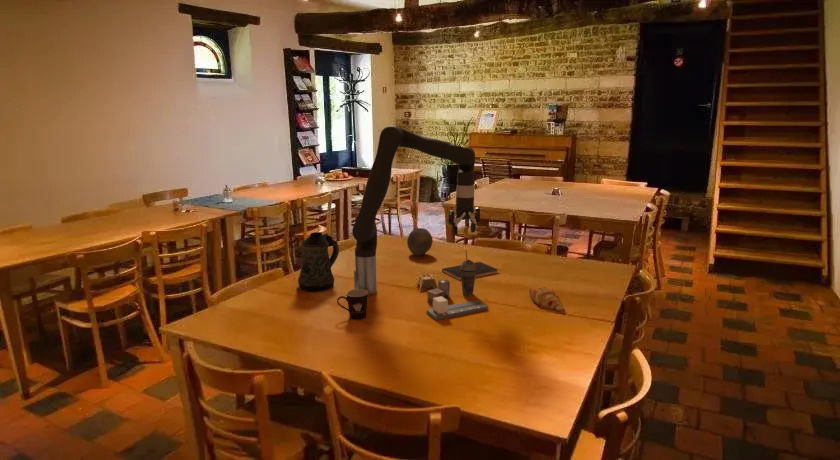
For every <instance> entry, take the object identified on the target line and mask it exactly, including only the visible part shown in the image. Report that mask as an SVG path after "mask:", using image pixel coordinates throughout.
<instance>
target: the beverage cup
mask: <svg viewBox="0 0 840 460" xmlns="http://www.w3.org/2000/svg"><path fill="white" fill-rule="evenodd" d="M464 253H465V260H463V262H462V263H461V264H460V265H461V267H460V271H461V279H462V280H461V290H462V296H466V297H471V296H473V295H474V291H475V290H474V288H475V281H476V277H475V274H476V270H477V269H476V265H475V261H474V260H470V259H468V251H467V250H465V251H464Z"/></svg>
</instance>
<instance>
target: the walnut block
mask: <svg viewBox="0 0 840 460" xmlns="http://www.w3.org/2000/svg"><path fill="white" fill-rule="evenodd" d="M441 296H442V297H443V298H444V291H442V290H439V289H438V287H437V288H433V289H429V290H427V303H429V304H430V305H431V304H432V305H433V298H435V297H441Z"/></svg>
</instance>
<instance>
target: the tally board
mask: <svg viewBox="0 0 840 460" xmlns="http://www.w3.org/2000/svg"><path fill="white" fill-rule="evenodd" d="M488 307H489V306H488V305H486V304H485V303H483V302H482V301H480V300H478V299H476V300H475V299H474V300H469V301H465V302H459V303H455V304H448V312H446V313H441V314H438V313H437V312H435V311H434V310H433V308H428V309H426V314H427V315H429V316H430V317H431V318H432V319H434V320H435V321H439V320H444V319H449V318H454V317H459V316H464V315H469V314H473V313H478V312H483V311H484V312H485V311H488V310H489V308H488Z"/></svg>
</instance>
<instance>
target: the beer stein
mask: <svg viewBox="0 0 840 460" xmlns="http://www.w3.org/2000/svg"><path fill="white" fill-rule="evenodd" d="M329 247H332V253H331V255H329ZM301 248H302V257H301V265H300V266H301V267H300V272H299V276H298V279H297V283H298V287H299V289H300V290H301V291H302V292H306V293H317V292H319V293H321V292H325V291H329V290H331V289H332V288H334V286H335V285H334V283H335V277H334V275H333V274H334V273H333V272H332V267H333V265H334V264H335V263H336V261H337V259H338V256H339V253H340V247H339V244H338V241H336V240H334V239H333V237H332V235H331V236H330V235H328V234H323V233H322V232H318V231H316V232H311V233H310V234H309V236H307V238H306V239H305V240H303V241H302V243H301Z"/></svg>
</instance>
